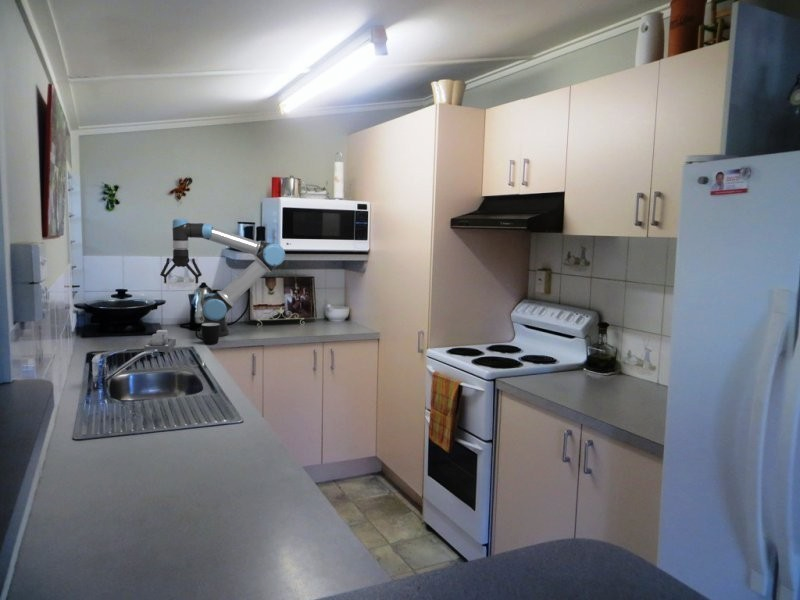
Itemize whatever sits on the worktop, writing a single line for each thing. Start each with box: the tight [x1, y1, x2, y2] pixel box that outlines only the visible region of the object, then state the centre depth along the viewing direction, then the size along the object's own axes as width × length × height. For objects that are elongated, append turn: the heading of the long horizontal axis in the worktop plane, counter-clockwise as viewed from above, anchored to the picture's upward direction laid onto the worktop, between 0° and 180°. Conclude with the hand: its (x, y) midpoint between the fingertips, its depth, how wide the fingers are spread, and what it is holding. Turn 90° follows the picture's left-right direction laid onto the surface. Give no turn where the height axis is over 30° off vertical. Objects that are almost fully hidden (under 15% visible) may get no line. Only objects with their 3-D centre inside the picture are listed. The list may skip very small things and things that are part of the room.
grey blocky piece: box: [143, 329, 177, 354], centre depth 290 cm, size 11×20×8 cm, turn 12°
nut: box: [151, 333, 165, 346], centre depth 285 cm, size 5×5×8 cm
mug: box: [195, 323, 220, 346], centre depth 304 cm, size 12×9×10 cm
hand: (181, 289), depth 310 cm, fingers open, 13 cm apart
